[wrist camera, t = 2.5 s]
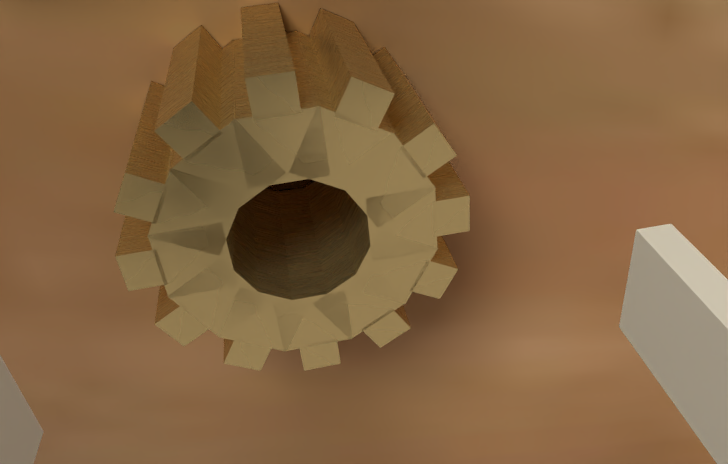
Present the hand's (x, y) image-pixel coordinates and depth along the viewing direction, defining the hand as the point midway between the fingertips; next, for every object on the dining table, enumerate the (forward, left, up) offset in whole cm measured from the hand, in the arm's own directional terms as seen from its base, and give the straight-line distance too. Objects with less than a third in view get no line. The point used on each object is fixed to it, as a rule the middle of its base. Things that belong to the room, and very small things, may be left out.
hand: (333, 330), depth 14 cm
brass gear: (0, 0, -10) cm, 10 cm away
